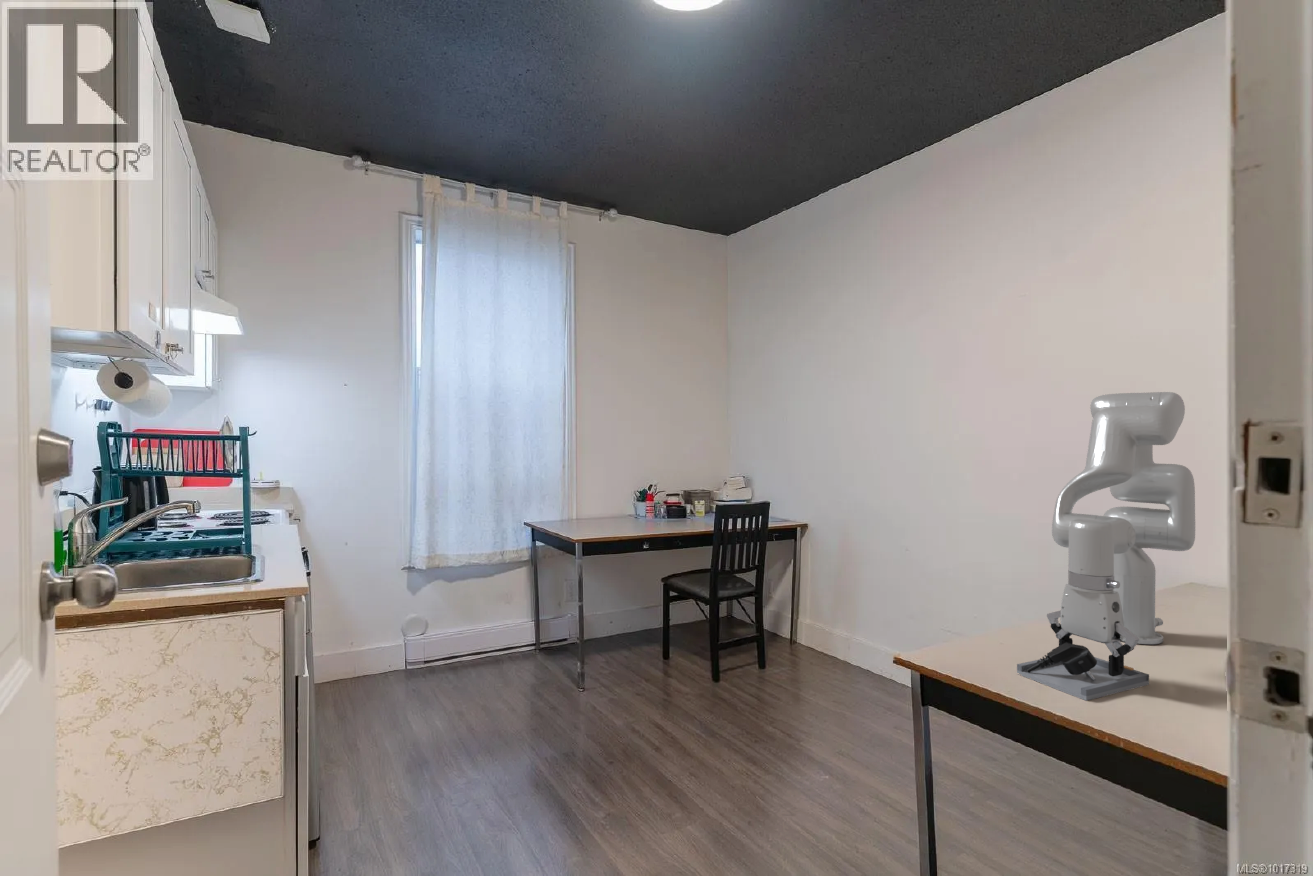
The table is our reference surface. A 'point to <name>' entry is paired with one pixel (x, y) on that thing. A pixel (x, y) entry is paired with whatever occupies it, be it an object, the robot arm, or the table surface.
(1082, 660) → the power plug
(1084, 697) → the dock
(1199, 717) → the table surface
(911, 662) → the table surface
